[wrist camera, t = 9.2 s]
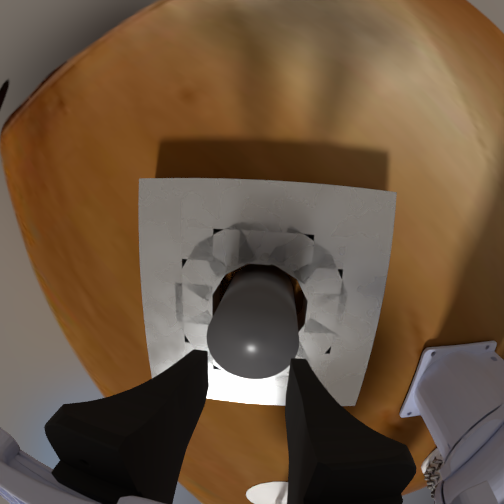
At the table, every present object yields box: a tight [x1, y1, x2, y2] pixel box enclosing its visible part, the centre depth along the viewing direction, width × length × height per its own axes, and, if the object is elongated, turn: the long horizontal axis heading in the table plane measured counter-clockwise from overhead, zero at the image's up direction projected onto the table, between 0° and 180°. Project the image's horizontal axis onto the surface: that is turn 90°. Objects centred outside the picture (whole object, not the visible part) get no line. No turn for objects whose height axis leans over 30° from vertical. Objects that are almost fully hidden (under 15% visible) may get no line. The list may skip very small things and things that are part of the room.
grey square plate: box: [139, 178, 397, 406], centre depth 19 cm, size 16×16×2 cm
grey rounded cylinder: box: [206, 264, 299, 379], centre depth 17 cm, size 5×5×7 cm
